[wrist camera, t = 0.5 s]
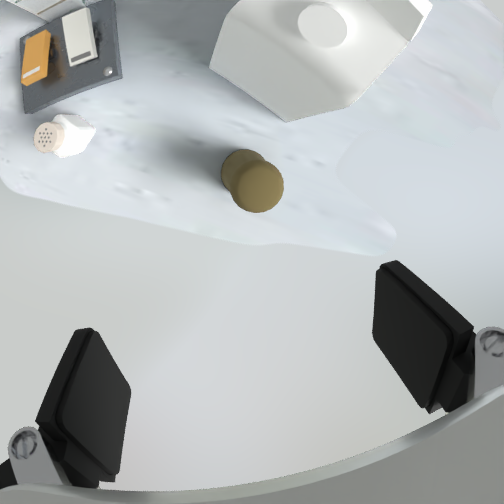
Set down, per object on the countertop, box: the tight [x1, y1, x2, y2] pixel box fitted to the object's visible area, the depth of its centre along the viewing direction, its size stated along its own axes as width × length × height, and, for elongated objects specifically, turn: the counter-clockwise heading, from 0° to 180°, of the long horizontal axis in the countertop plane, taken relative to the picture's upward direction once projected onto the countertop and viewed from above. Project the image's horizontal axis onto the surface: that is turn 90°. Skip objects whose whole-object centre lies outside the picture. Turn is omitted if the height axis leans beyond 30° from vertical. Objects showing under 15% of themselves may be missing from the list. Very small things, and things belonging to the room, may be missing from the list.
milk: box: [209, 0, 433, 122], centre depth 20 cm, size 12×12×26 cm
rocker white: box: [62, 7, 98, 67], centre depth 23 cm, size 7×3×2 cm, turn 9°
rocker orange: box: [21, 30, 51, 86], centre depth 23 cm, size 7×3×2 cm, turn 8°
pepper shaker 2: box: [34, 114, 96, 158], centre depth 27 cm, size 4×4×10 cm
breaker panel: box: [20, 0, 122, 114], centre depth 26 cm, size 12×14×3 cm
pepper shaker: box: [221, 150, 284, 213], centre depth 32 cm, size 6×6×11 cm
